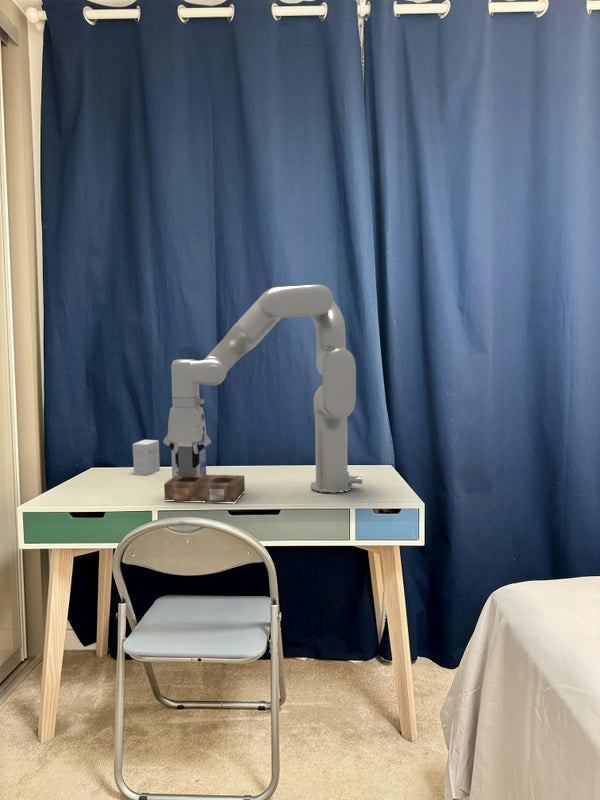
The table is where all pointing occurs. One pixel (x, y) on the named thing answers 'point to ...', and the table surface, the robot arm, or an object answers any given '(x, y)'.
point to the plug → (186, 459)
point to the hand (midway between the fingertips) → (187, 465)
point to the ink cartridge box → (200, 468)
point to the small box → (146, 457)
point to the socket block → (205, 488)
